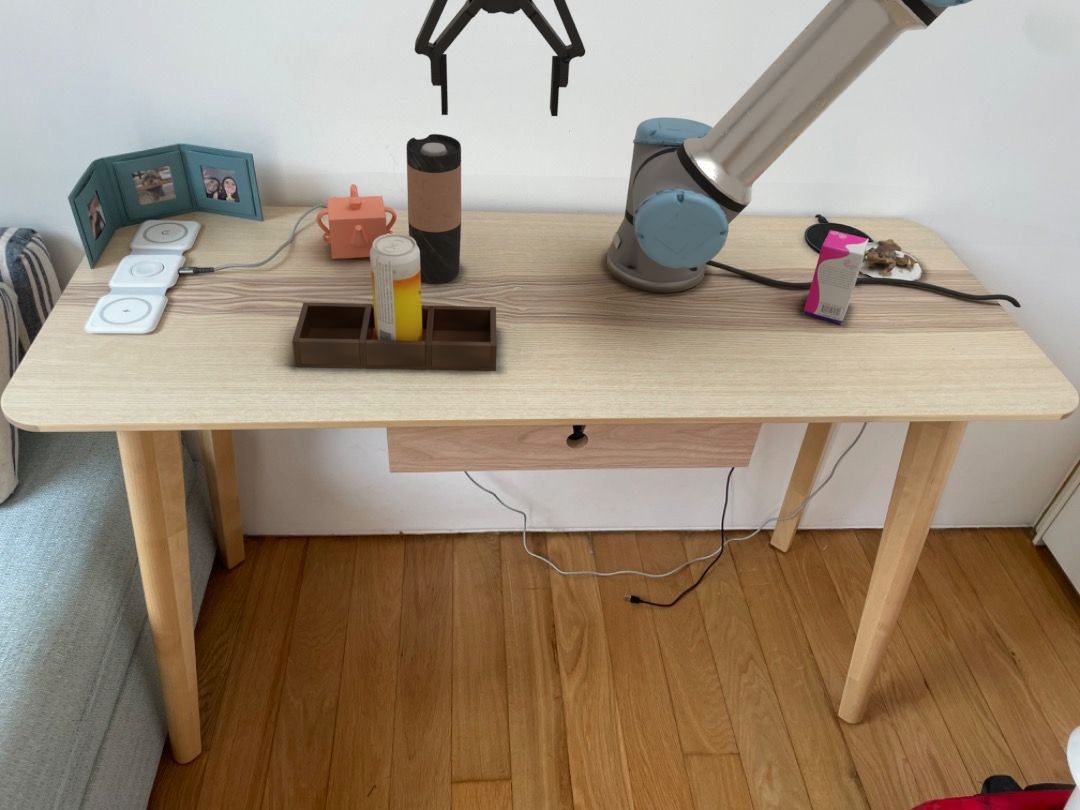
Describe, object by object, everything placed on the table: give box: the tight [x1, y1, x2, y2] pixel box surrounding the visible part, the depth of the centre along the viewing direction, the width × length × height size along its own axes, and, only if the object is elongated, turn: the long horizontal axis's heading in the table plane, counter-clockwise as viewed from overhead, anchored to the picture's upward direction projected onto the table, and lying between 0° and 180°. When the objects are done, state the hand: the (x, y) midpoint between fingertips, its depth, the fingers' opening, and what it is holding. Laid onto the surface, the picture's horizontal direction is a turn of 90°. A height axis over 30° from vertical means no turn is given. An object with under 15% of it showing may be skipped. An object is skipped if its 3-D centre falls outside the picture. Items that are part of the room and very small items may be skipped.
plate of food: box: [859, 238, 923, 281], centre depth 145 cm, size 12×12×4 cm
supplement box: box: [803, 229, 870, 325], centre depth 131 cm, size 6×6×12 cm
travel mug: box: [406, 133, 462, 285], centre depth 130 cm, size 8×8×20 cm
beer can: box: [369, 232, 423, 341], centre depth 115 cm, size 6×6×15 cm
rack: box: [291, 301, 498, 372], centre depth 119 cm, size 26×9×4 cm, turn 93°
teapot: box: [316, 183, 397, 260], centre depth 137 cm, size 12×15×8 cm
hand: (499, 111), depth 113 cm, fingers open, 13 cm apart
